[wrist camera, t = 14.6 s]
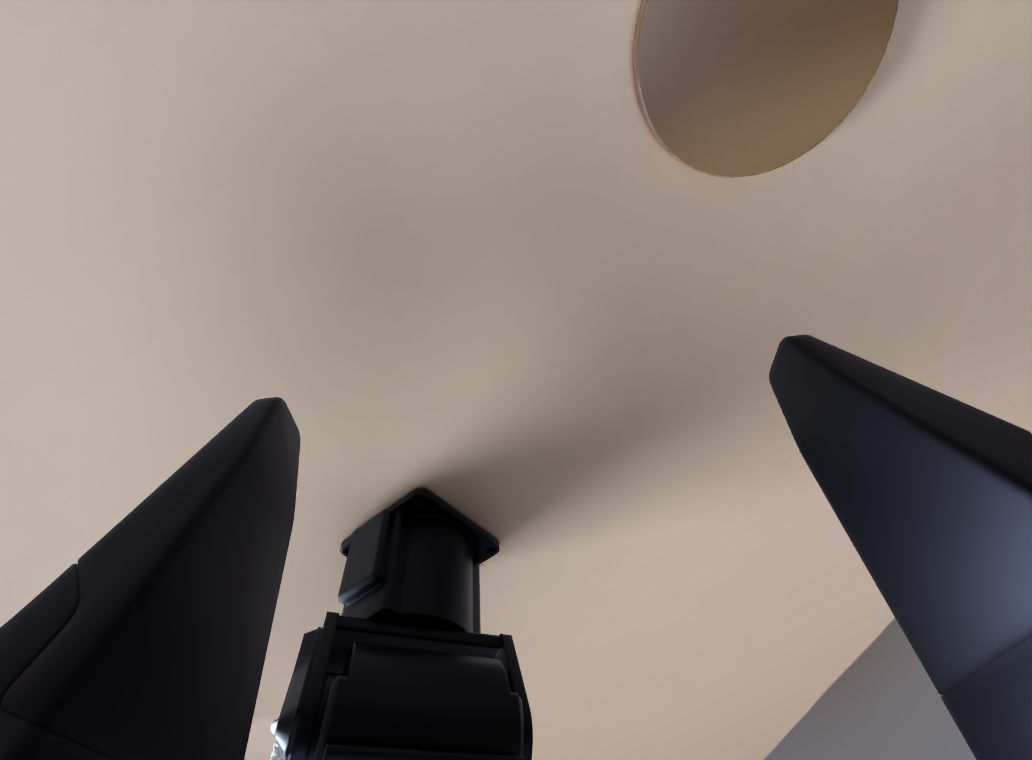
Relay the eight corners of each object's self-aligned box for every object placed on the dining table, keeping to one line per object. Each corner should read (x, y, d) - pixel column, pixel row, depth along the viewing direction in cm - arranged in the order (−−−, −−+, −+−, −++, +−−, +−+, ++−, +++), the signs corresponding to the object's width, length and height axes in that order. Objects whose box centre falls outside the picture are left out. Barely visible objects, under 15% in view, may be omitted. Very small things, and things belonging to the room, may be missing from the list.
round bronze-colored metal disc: (921, 58, 17) (933, 58, 17) (706, 221, 20) (711, 225, 19) (835, -229, 13) (847, -237, 13) (582, 20, 16) (585, 19, 16)
